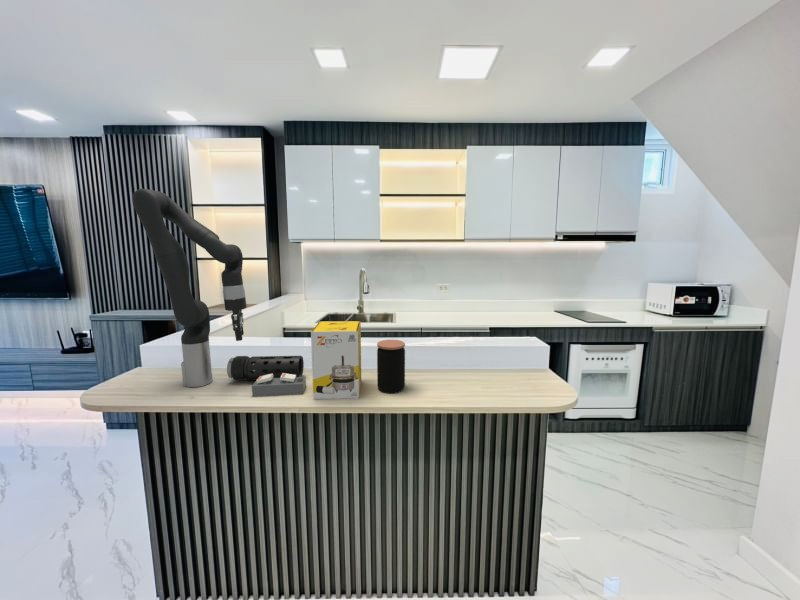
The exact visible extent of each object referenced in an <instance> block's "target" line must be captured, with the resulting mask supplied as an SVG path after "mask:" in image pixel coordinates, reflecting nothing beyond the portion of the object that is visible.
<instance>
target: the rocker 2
mask: <svg viewBox="0 0 800 600" xmlns="http://www.w3.org/2000/svg"><path fill="white" fill-rule="evenodd" d="M295 378H296V375H293V374H287V373H283V374H282V375H281V377H280V380H284V381H290V382H294V380H295Z"/></svg>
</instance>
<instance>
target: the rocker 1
mask: <svg viewBox="0 0 800 600" xmlns="http://www.w3.org/2000/svg"><path fill="white" fill-rule="evenodd" d="M273 377H274V376H273V373H272V374H268V375H264V376H260V377H259V378H258V379H257V384H258V383H262V382H266V381H270V380H272V378H273Z"/></svg>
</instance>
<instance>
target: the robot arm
mask: <svg viewBox="0 0 800 600" xmlns="http://www.w3.org/2000/svg"><path fill="white" fill-rule="evenodd" d="M131 200H132V206H133V208H134V211H135V213H136V215H137V216H138V218H139V220H140V222H141V224H142V226H143V228H144V231H145V233H146V235H147V239H148V241H149V243H150V245H151V248H152V251H153V252H154V257H155V260H156V262H157V265H158V268H159V270H160V272H161V275H162V278H163V281H164V283H165V286H166V289H167V291H168V294H169V299H170V302H171V305H172V307H171V308H172V311H173V314H174V317H175V320H176V322H177V323H178V324H180V325H181V326H183V327H184V329H183V332H182V334H181V335H180V341H181V350H182V351H181V352H182V360H183V361H181V362H180V366H181V377H182V385H183V387H188V388H199V387H203V386H207V385H209V384H210V383H212V382H213V373H212V372H213V371H212V370H213V369H212V359H211V358H212V357H211V348H210V337H209V336H210V333H211V332H210V331H211V320H210V317H211V316H210V310H209V307H208V305H207V304H206V303H205V302H203V301H202V300H198V299H195V298H194V296H193V294H192V290H191V287H190V265H189V261H188V258H187V255H186V253H185V251H184V248H183V247H182V245H181V244H180V242H178V240H177V239H176V238H175V236H174V235H173V234H172V233H171V232H170V231H169V229H168V228H167V225H166V223H165V221H164V219H165V220H168V221H169V222H171V223H173V225H174V224H175V225H176V226H177V227H178V228H179V229H180V230H181V232H182V233H183V234H184V235H185V237H187V238H188V239H189V240H190V241H192V242H194V244H196V245H198V246H199V247H201V248H202V249H204V250H205V252H207V253H208V254H209V256H211V257H212V258H213V259H214V260H216V261H217V262H218V263H222V264H224V270H223V271H222V272H221V273H220V275H221V277H220V278H221V284H222V297H223V304H224V309H225V311H229V312H230V311H231V312H232V313H231V315H230V318H231V324H232V330H233V332H234V335H235V341H236V342H239V341H242V340H243V336H244V333H245V332H244V313H243V310H245V309H246V308H247V301H246V300H247V299H246V291H245V287H244V282H243V281H244V280H243V274H242V271H243V262H244V259H243V258H244V257H243V252H242V249H241V248H240V247H239V246H237V245H235V244H226V243H225V242H224V241H222V240H221V239H220V236H219V235H218V233H217V234H216V233H215V232H214V231H212V230H211V229H209V228H208V227H207V226H206V225H204V224H202V223H201V222H199V221H198V220H196V219H195V218H194V217H193V216H191V215H190V213H189V214H188V212H186V211H185V210H184V209H183V208H182V207H181V206H180V205H178V203H176V202H175V201H174V200H173V199H172V198H171V197H170V196H169V195H167V194H166V193H164V192H162V191H159V190H153V189H148V188H139V189H136V190H135V191H134V192H133V194H132V199H131Z"/></svg>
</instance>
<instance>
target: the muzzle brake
mask: <svg viewBox="0 0 800 600" xmlns="http://www.w3.org/2000/svg"><path fill="white" fill-rule="evenodd" d="M304 362H305V361H304V357H303V356H302V355H270V356H269V355H266V356H265V355H264V356H262V355H261V356H258V355H257V356H256V355H255V356H254V355H253V356H251V357H250V356H248V355H236V356H235V357H230V358H229V360H228V363H227V366H226V374H227V376H228V378H229V379H233V380H235V381H241V380H243V381H244V380H246V381H247V382H254V381H253V380H257V379H258V378H259V377H260V376H264V375H268V374H272V373H273V376H274V377H273V378H280V377H281V375H282V374H283V373H287V374H293V375H296V377H303V373H304V369H305V367H304V364H305V363H304Z"/></svg>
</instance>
